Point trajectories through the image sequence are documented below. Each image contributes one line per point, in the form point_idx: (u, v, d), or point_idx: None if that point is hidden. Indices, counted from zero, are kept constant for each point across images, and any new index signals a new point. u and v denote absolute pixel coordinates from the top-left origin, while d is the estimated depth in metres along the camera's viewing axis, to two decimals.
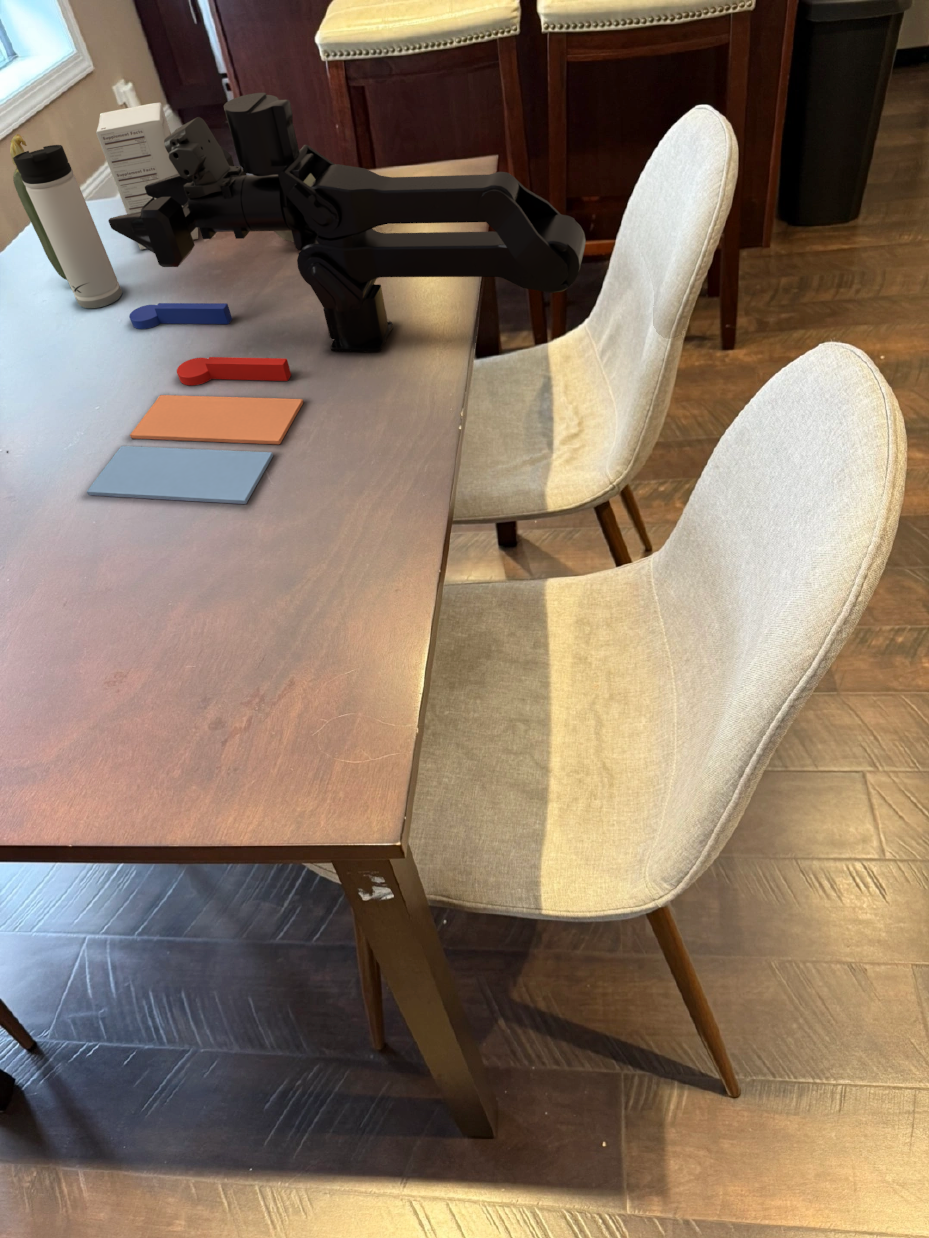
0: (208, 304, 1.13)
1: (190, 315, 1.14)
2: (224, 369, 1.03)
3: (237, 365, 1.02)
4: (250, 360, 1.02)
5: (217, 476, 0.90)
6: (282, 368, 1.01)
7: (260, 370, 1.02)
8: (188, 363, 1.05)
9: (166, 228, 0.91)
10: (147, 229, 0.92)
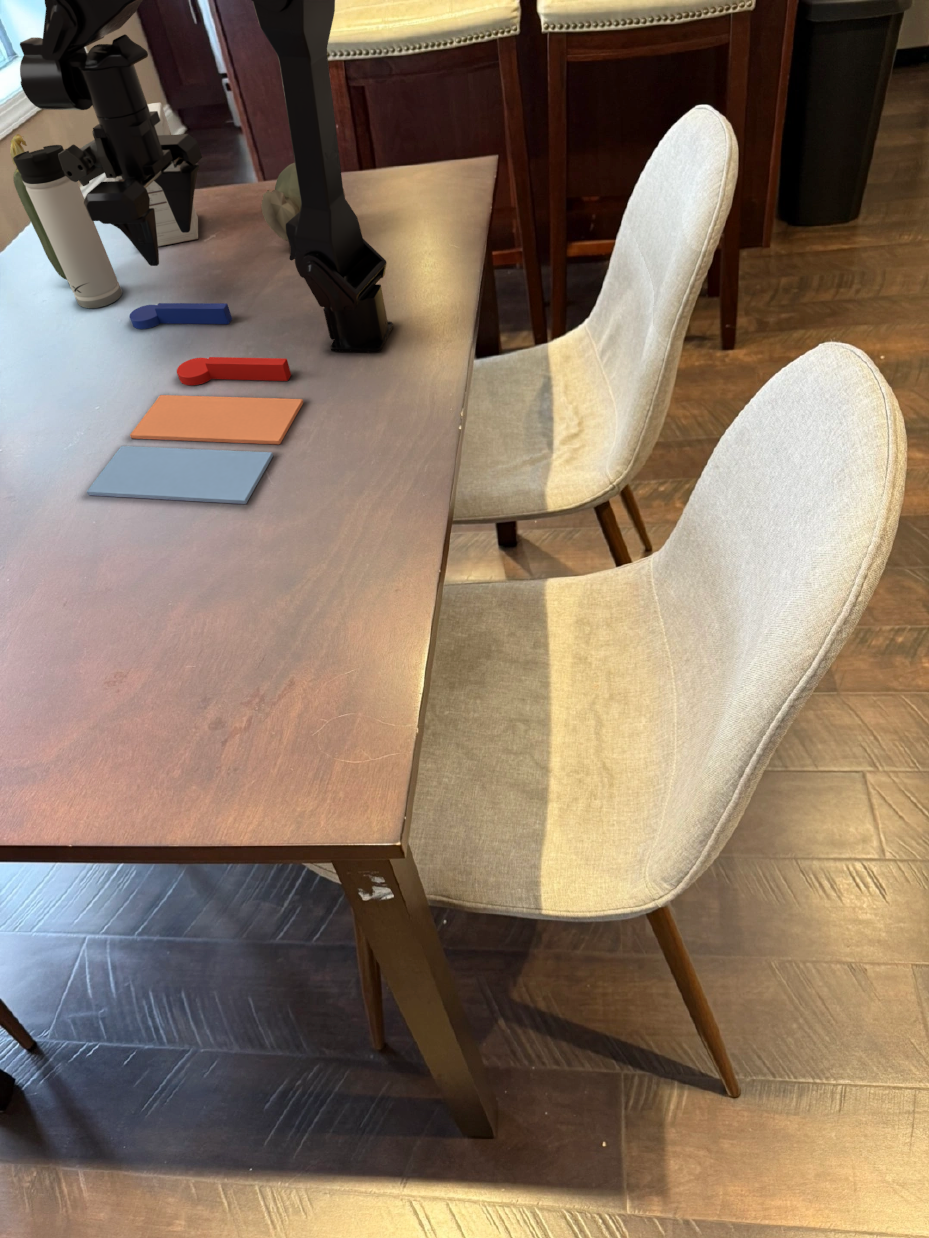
0: (208, 304, 1.13)
1: (190, 315, 1.14)
2: (224, 369, 1.03)
3: (237, 365, 1.02)
4: (250, 360, 1.02)
5: (217, 476, 0.90)
6: (282, 368, 1.01)
7: (260, 370, 1.02)
8: (188, 363, 1.05)
9: (93, 198, 0.95)
10: (101, 219, 0.96)
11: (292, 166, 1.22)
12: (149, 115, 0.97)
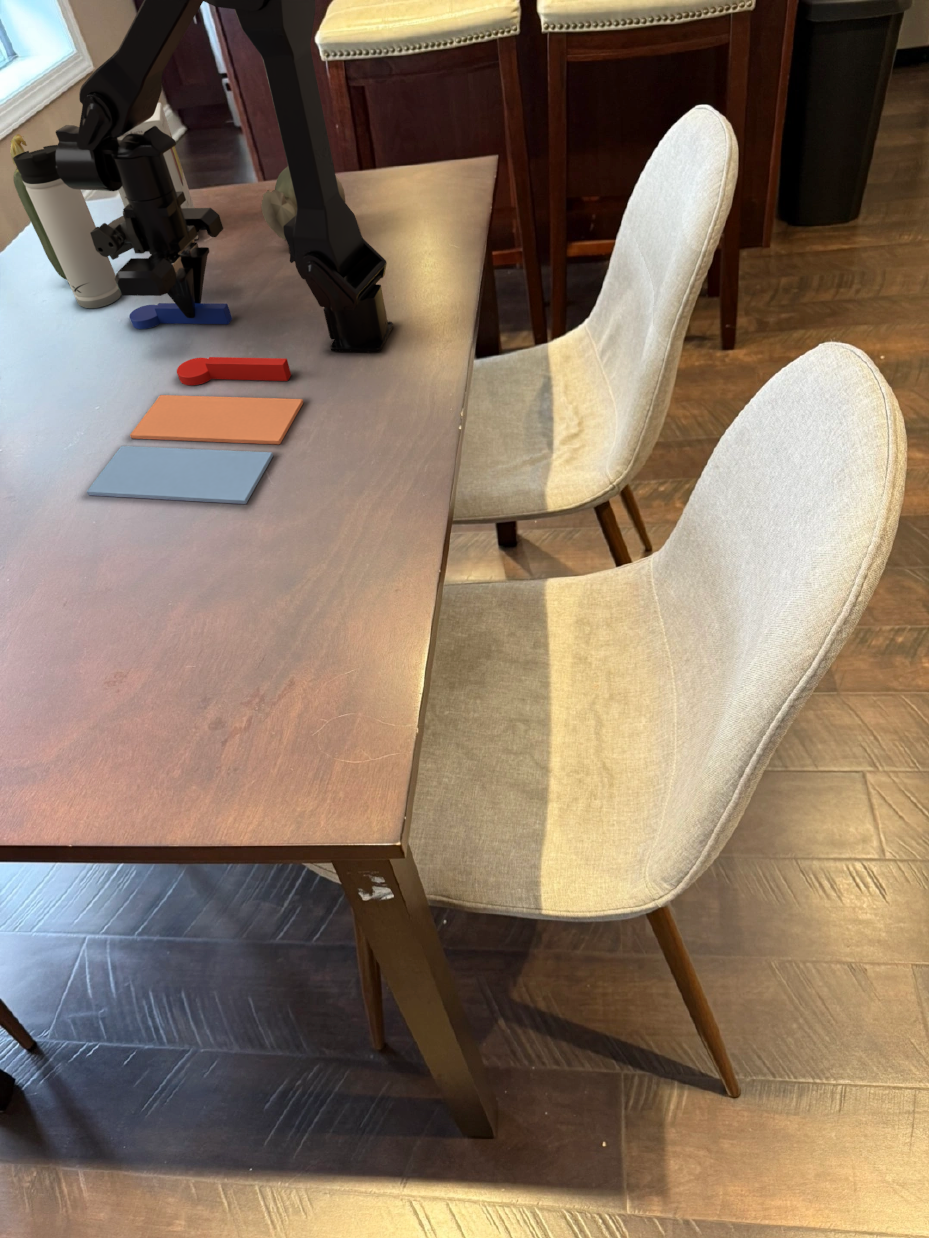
0: (208, 304, 1.13)
1: None
2: (224, 369, 1.03)
3: (237, 365, 1.02)
4: (250, 360, 1.02)
5: (217, 476, 0.90)
6: (282, 368, 1.01)
7: (260, 370, 1.02)
8: (188, 363, 1.05)
9: (124, 276, 1.01)
10: (131, 294, 1.03)
11: None
12: (176, 196, 1.03)
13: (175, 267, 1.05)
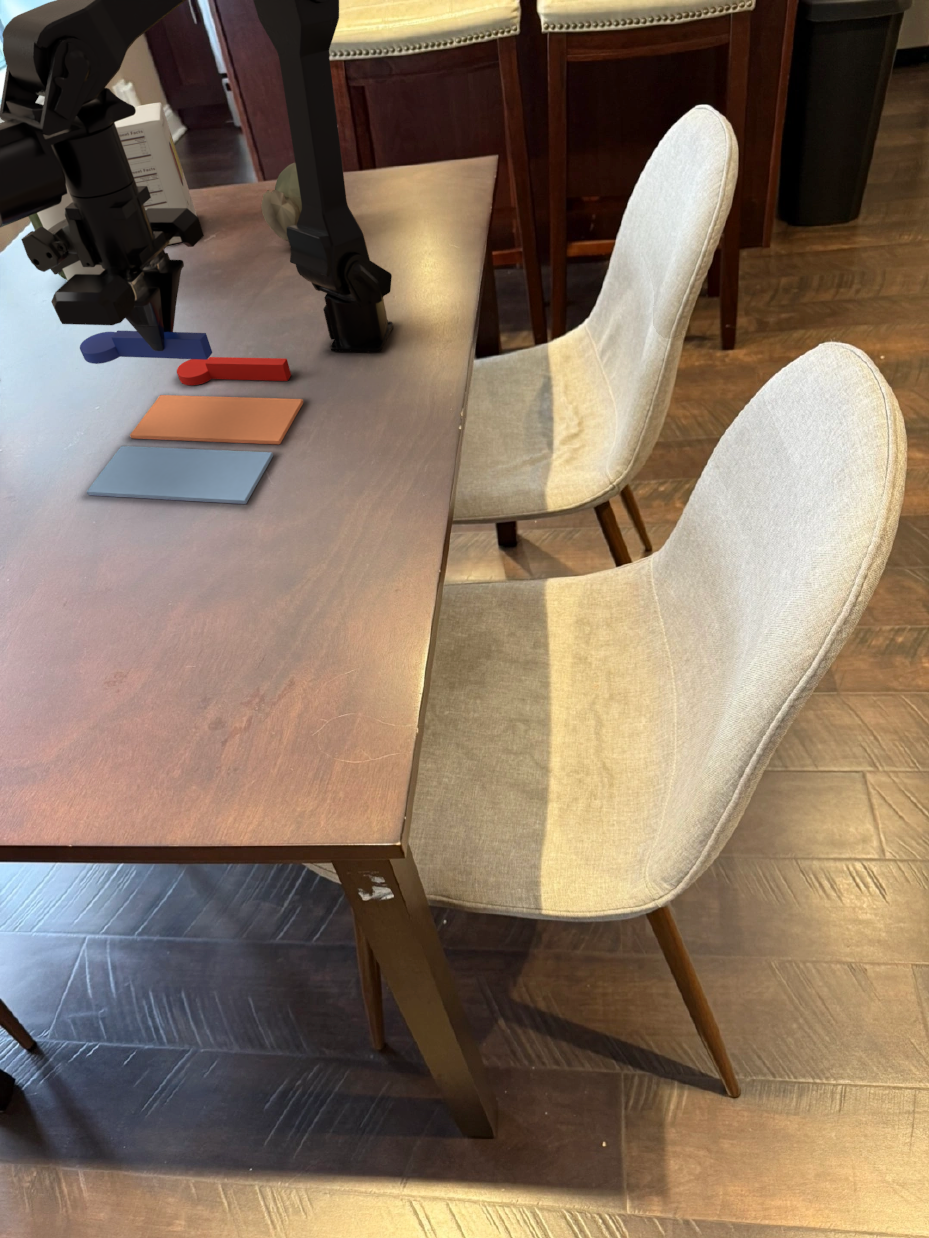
0: (181, 333, 0.87)
1: None
2: (224, 369, 1.03)
3: (237, 365, 1.02)
4: (250, 360, 1.02)
5: (217, 476, 0.90)
6: (282, 368, 1.01)
7: (260, 370, 1.02)
8: (188, 363, 1.05)
9: (63, 298, 0.75)
10: (73, 322, 0.77)
11: (292, 166, 1.22)
12: (136, 192, 0.77)
13: (135, 286, 0.79)
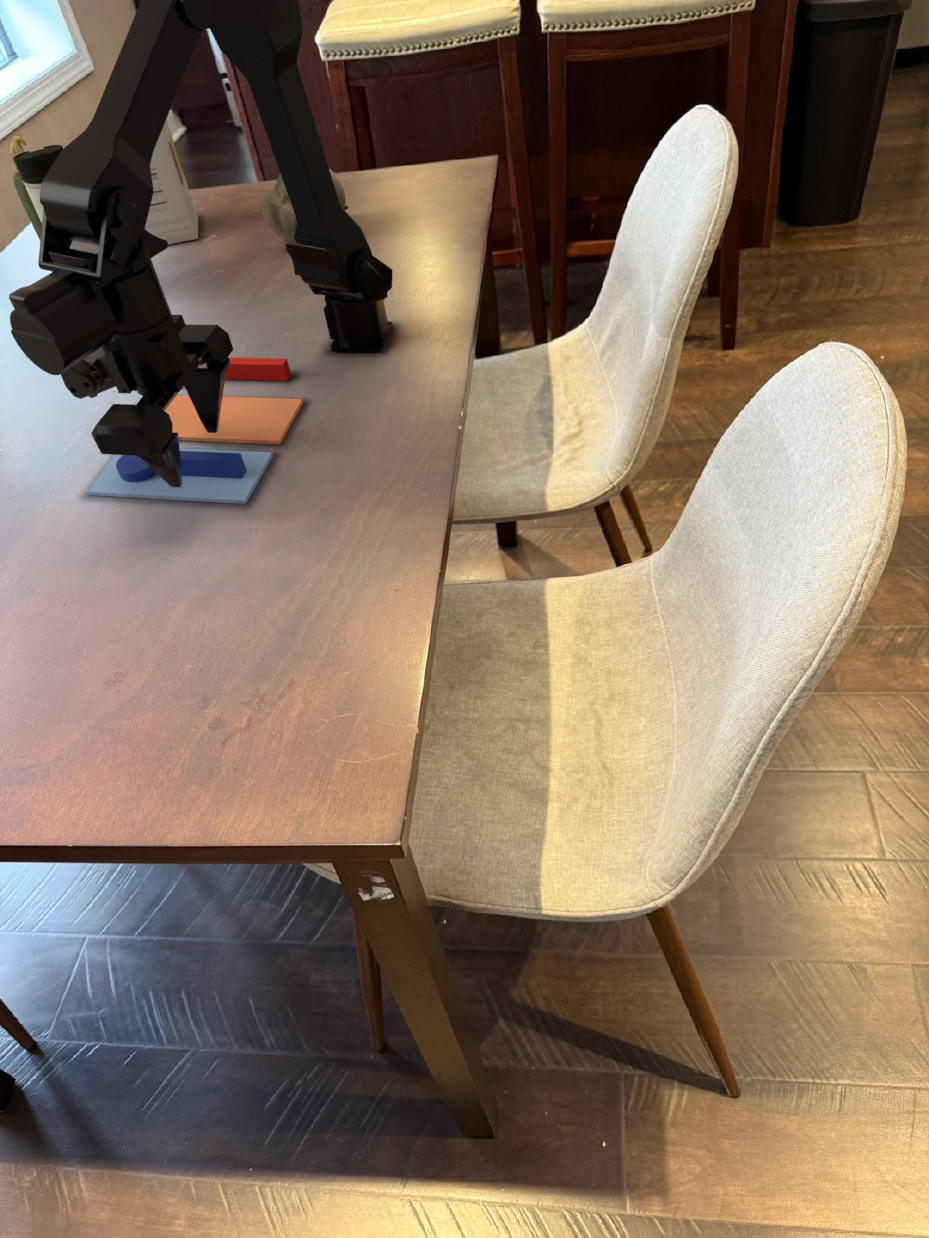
0: (216, 454, 0.89)
1: (193, 467, 0.89)
2: None
3: (237, 365, 1.02)
4: (250, 360, 1.02)
5: None
6: (282, 368, 1.01)
7: (260, 370, 1.02)
8: None
9: (103, 431, 0.76)
10: (113, 452, 0.78)
11: None
12: (172, 323, 0.78)
13: None
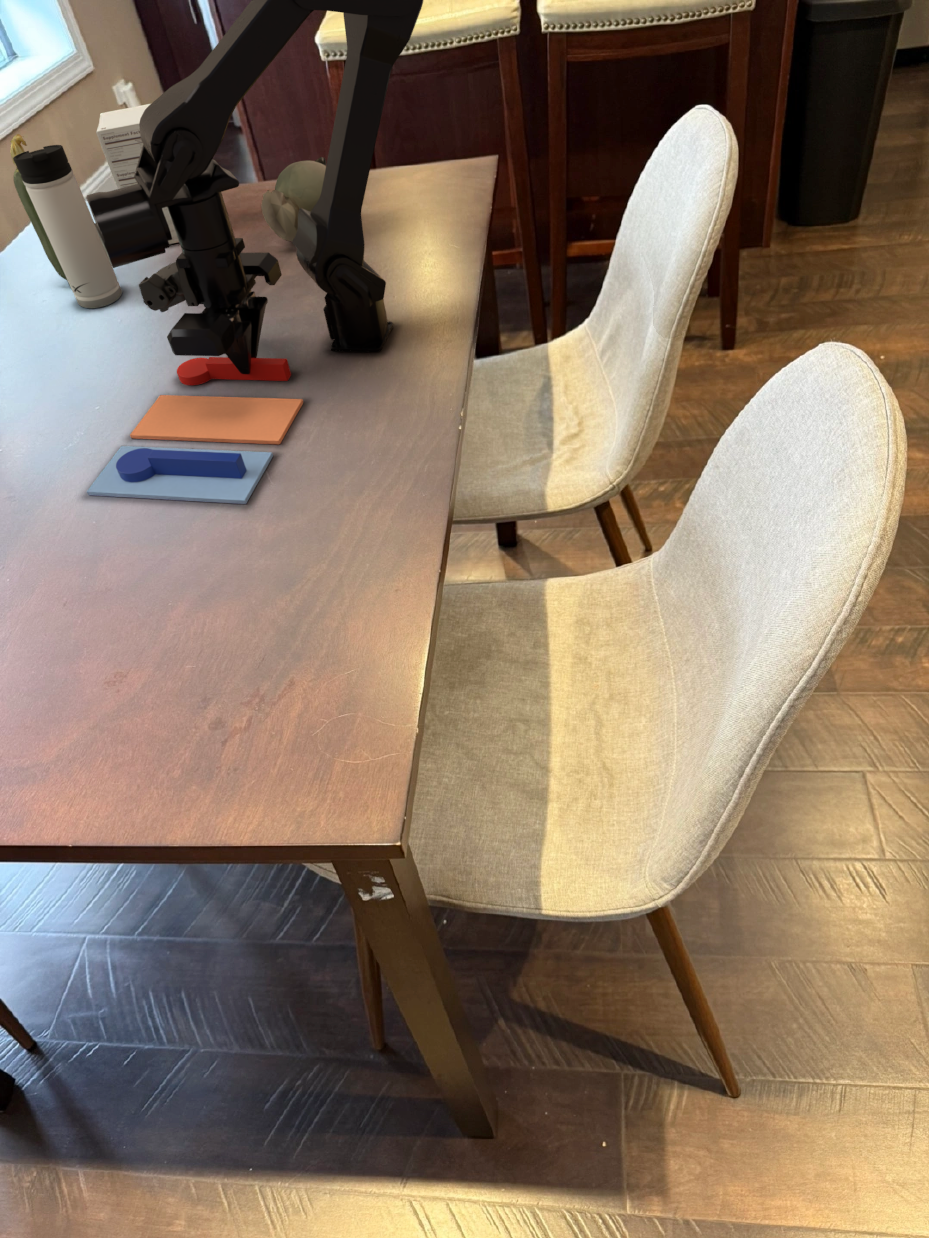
0: (216, 454, 0.89)
1: (193, 467, 0.89)
2: (224, 369, 1.03)
3: None
4: None
5: None
6: (282, 368, 1.01)
7: (260, 370, 1.02)
8: (188, 363, 1.05)
9: (178, 334, 0.90)
10: (185, 354, 0.92)
11: (292, 166, 1.22)
12: (235, 244, 0.92)
13: (233, 322, 0.94)
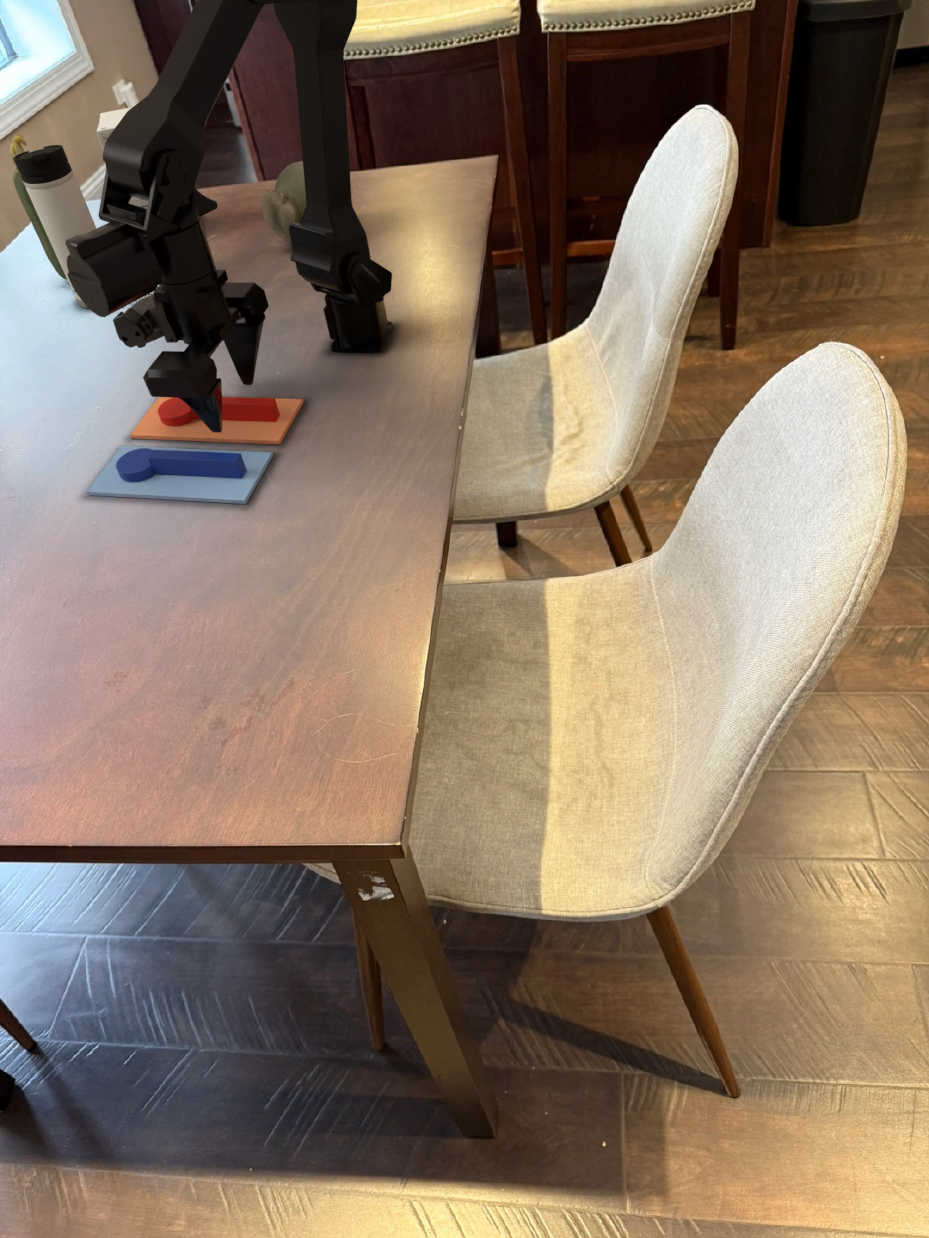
0: (216, 454, 0.89)
1: (193, 467, 0.89)
2: None
3: (222, 405, 0.95)
4: (236, 399, 0.95)
5: None
6: (270, 409, 0.94)
7: (246, 410, 0.95)
8: (169, 402, 0.98)
9: (154, 375, 0.83)
10: (162, 395, 0.85)
11: (292, 166, 1.22)
12: (217, 276, 0.85)
13: None
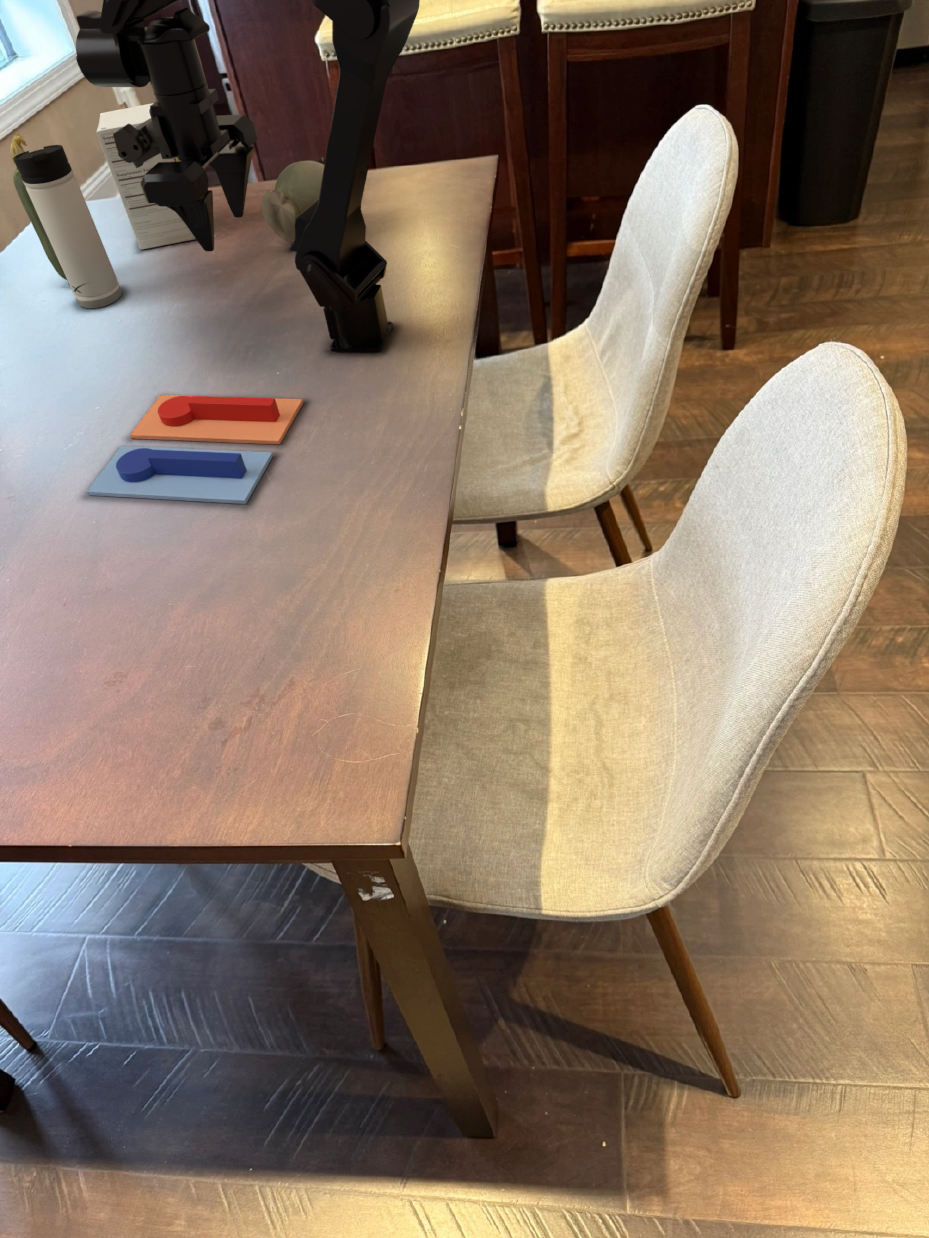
0: (216, 454, 0.89)
1: (193, 467, 0.89)
2: (208, 409, 0.96)
3: (222, 405, 0.95)
4: (236, 399, 0.95)
5: None
6: (270, 409, 0.94)
7: (246, 410, 0.95)
8: (169, 402, 0.98)
9: (151, 179, 0.91)
10: (158, 201, 0.92)
11: (292, 166, 1.22)
12: (208, 93, 0.93)
13: None
